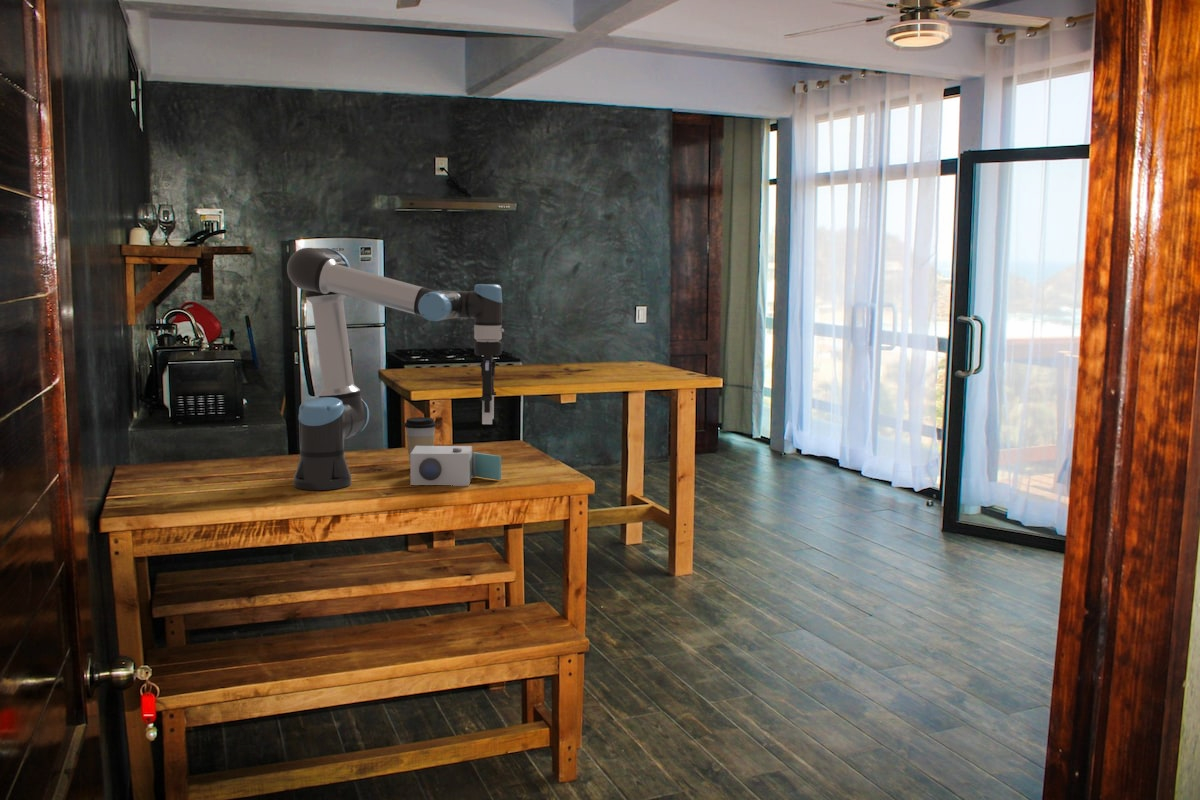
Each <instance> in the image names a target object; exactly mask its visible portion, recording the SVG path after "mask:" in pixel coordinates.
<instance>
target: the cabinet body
mask: <svg viewBox="0 0 1200 800" xmlns="http://www.w3.org/2000/svg"><path fill="white" fill-rule="evenodd" d="M472 452H473V446H472V445H434V446H415V448H414V449H413V450H412V452H411V453H410V459H409V465H410V470H409V471H410V473H409V474H410V486H411V485H451V486H450V487H469V486H470V485H469V484H470V483H471V480H472V478H473V477H472ZM452 485H453V486H452Z"/></svg>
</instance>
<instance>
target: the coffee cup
mask: <svg viewBox="0 0 1200 800" xmlns="http://www.w3.org/2000/svg"><path fill="white" fill-rule="evenodd" d="M403 427H405V431H406V435H405V437H406V444H407V446H406V447H407V453H408V457H409V460H410V453H411V452H412V450H413V449H414V448H415V446H435V444H434V443H435V430H436V427H437V423H436V422H435V420H434V418H432V417H428V416H427V417H425V416H423V417H422V416H421V417H419V416H418V417H409V418H407V419H406V422H404V425H403Z"/></svg>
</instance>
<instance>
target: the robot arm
mask: <svg viewBox="0 0 1200 800" xmlns="http://www.w3.org/2000/svg"><path fill="white" fill-rule="evenodd" d="M286 273H287V276H288V278H289V280H290V281H291V283H292V284H293V285H294V286H295V287H297V288H298V289H301V290H303V291H304V296H305V299H306V300H307V301H308V302H309V303H310V304H311V307H312V313H313V321H314V329H315V336H316V343H317V351H318V352H317V353H318V359H319V366H320V373H321V381H322V389H321V391H320V392H319V393H318V397H316V398H311V399H310V398H309V399H307V400H305V401H303V402H301V404H300V405H299V408H298V415H297V416H298V417H297V419H298V430H299V431H298V433H299V434H298V435H299V460H298V464H297V467H296V470H295V473H294V476H293V487H295V488H296V489H298V490H299V489H300V490H306V491H327V490H328V491H329V490H338V489H342V488H346V487H349V486H350V485H351V484H352V476H351V471H350V469H349V466H348V464H347V460H346V458H345V440H347V439H350V438H354V437H356V436H357V435H359V434H360V433H361V432H363V431H364V430H365V428H366V427H367V425H368V423H369V421H370V420H369V419H370V410H369V406H368V404H367V403H366V402H365V401H364V400H363V399H362V394H361V389H360V388H359V387H358V386H357V385H356V384H355V381H354V374H353V366H352V359H351V353H350V351H351V350H350V345H349V344H350V342H349V335H348V329H347V321H346V312H345V305H344V301H345V299H346V298H347V297H349V298H354V299H357V300H361V301H364V302H368V303H371V304H375V305H379V306H383V307H386V308H391V309H394V310H398V311H401V312H405V313H409V314H413V315H416V316H419V317H423V318H424V319H425V320H426V321H432V322H441V321H444V320H450V319H451V320H452V319H474V326H473V327H474V328H473V331H474V333H473V334H474V335H473V336H474V339H475V341H474V355H476V356H483V360H480V361H481V362H480V370H481V371H480V372H481V374H480V376H481V378H482V380H481V381H482V383H481V385H482V388H481V390H482V391H481V392H482V393H481V394H482V395H481V397H479V401H481V404H482V405H481V407H482V409H481V413H482V414H481V424H482V425H493V420H494V419H495V418H494V417H495V414H494V413H495V396H497V392H496V391H495V384H494V383H495V381H494V380H495V379H494V378H495V375H496V365H497V363H496V360H495V359H494V356H495V357H497V356H500V355H502V353H503V343H502V341H500V340H502V338H503V337H502V336H503V335H502V334H503V333H505V329H504V328H502V326H503V325H502V324H503V323H502V322H503V321H502V320H503V294H502V293H503V292H502V290H503V289H502V286H501V285H500V284H491V283H489V284H485V283H479V284H478V283H477V284H475V285H474V289H473V290H470V291H469V290H468V291H466V290H463V291H462V290H447V289H445V290H434V289H432V288H431V289H430V288H428V287H424V286H419V285H416V284H412V283H409V282H405V281H401V280H397V279H394V278H390V277H386V276H382V275H378V274H376V273H372V272H368V271H365V270H360V269H357V268H353V267H351V265H350V261H348V259H347V258H346V256H345V255H344V254H343V253H341V252H340V251H339V250H338V251H337V250H335V249H332V248H329V247H326V248H325V247H324V248H323V247H320V248H319V247H316V248H315V247H304V248H300V249H298V250H296V251H295V252H293V253H292V255H291V256H290V257H289V259H288V261H287V266H286Z"/></svg>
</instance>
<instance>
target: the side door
mask: <svg viewBox="0 0 1200 800" xmlns="http://www.w3.org/2000/svg"><path fill="white" fill-rule="evenodd" d="M476 477H477V478H483V479H490V480H495V481H497V480H498V481H501V480H502V456H501V455H498V454H497V455H496V454H489V453H481V452H476V451H472V478H476Z"/></svg>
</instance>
